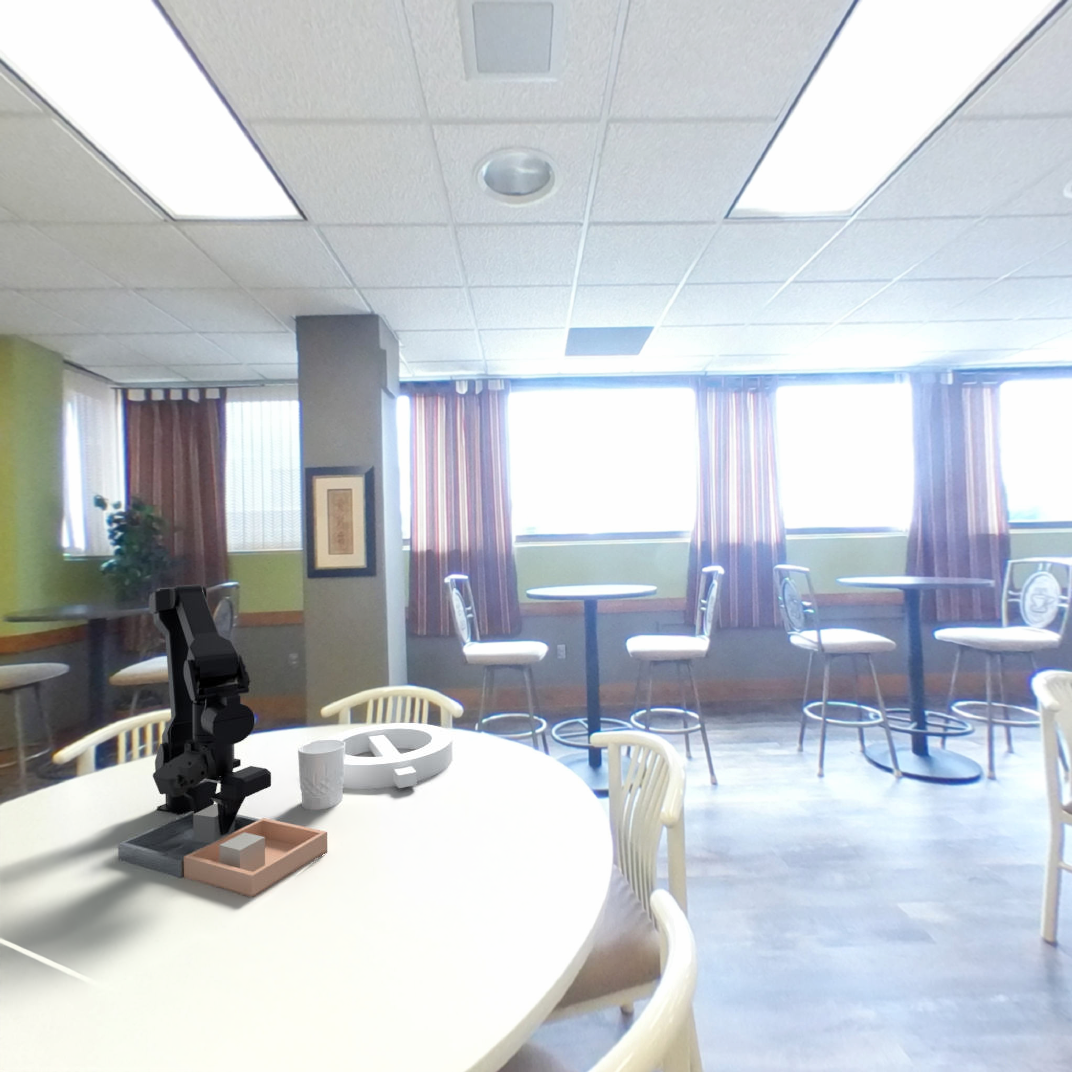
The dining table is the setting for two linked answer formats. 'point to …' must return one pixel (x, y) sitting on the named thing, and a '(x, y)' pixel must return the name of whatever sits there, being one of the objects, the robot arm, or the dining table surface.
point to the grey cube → (208, 825)
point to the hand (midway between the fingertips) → (214, 831)
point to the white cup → (321, 773)
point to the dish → (282, 857)
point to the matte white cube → (243, 852)
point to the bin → (168, 845)
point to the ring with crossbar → (394, 754)
